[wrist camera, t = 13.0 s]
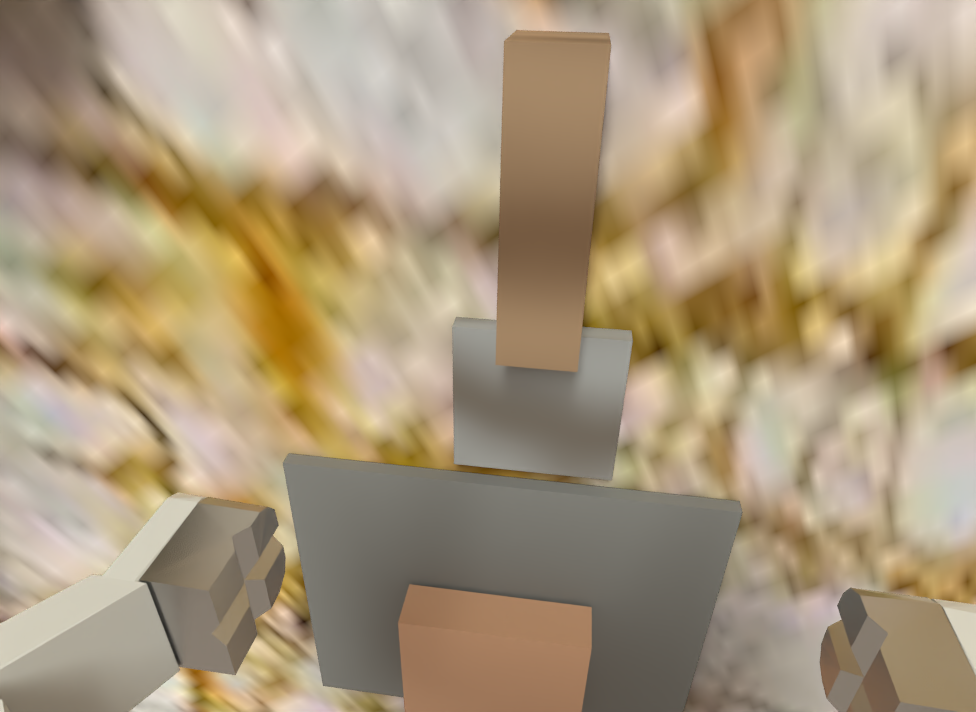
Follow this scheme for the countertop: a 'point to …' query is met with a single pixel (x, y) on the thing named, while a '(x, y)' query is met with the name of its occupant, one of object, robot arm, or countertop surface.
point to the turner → (544, 278)
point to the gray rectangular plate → (509, 567)
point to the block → (492, 652)
